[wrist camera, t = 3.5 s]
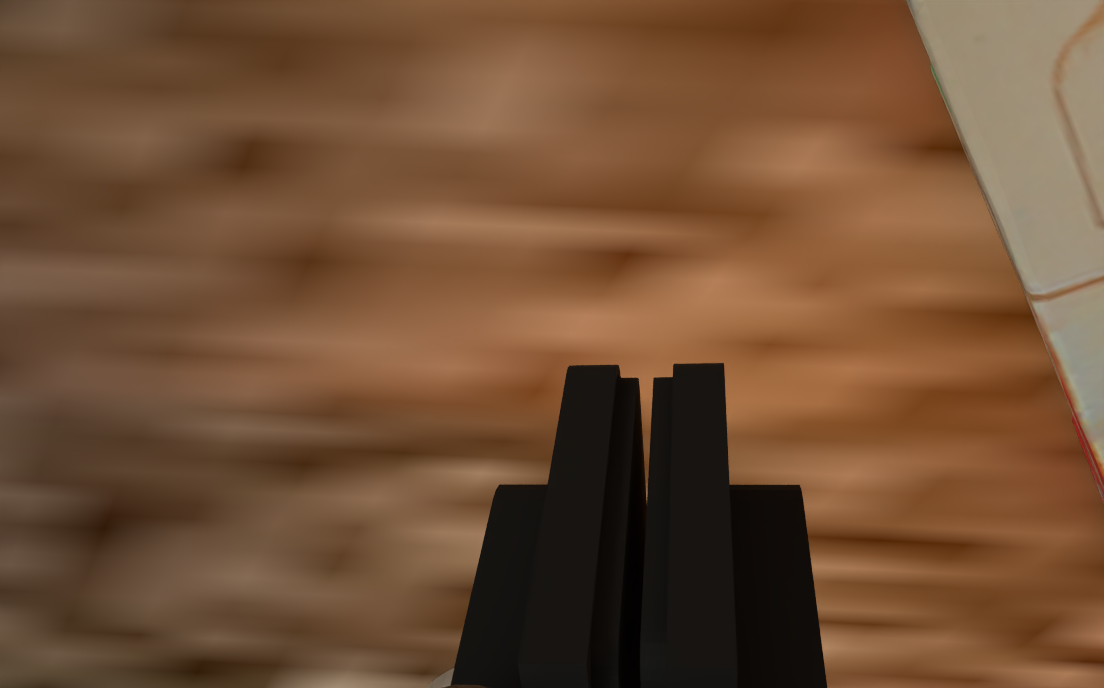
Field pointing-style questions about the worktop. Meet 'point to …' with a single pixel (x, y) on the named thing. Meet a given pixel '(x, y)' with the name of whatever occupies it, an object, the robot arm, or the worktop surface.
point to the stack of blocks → (1037, 165)
